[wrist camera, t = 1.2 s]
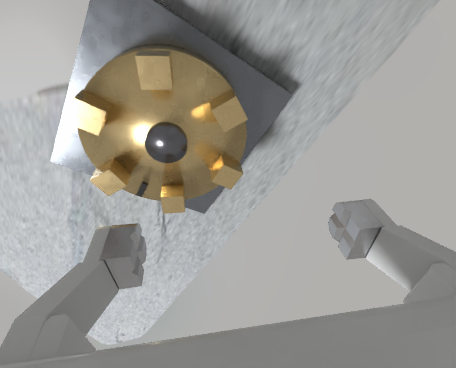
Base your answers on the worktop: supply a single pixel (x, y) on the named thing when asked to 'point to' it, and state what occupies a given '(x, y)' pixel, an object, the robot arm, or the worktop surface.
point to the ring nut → (161, 126)
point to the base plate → (168, 36)
